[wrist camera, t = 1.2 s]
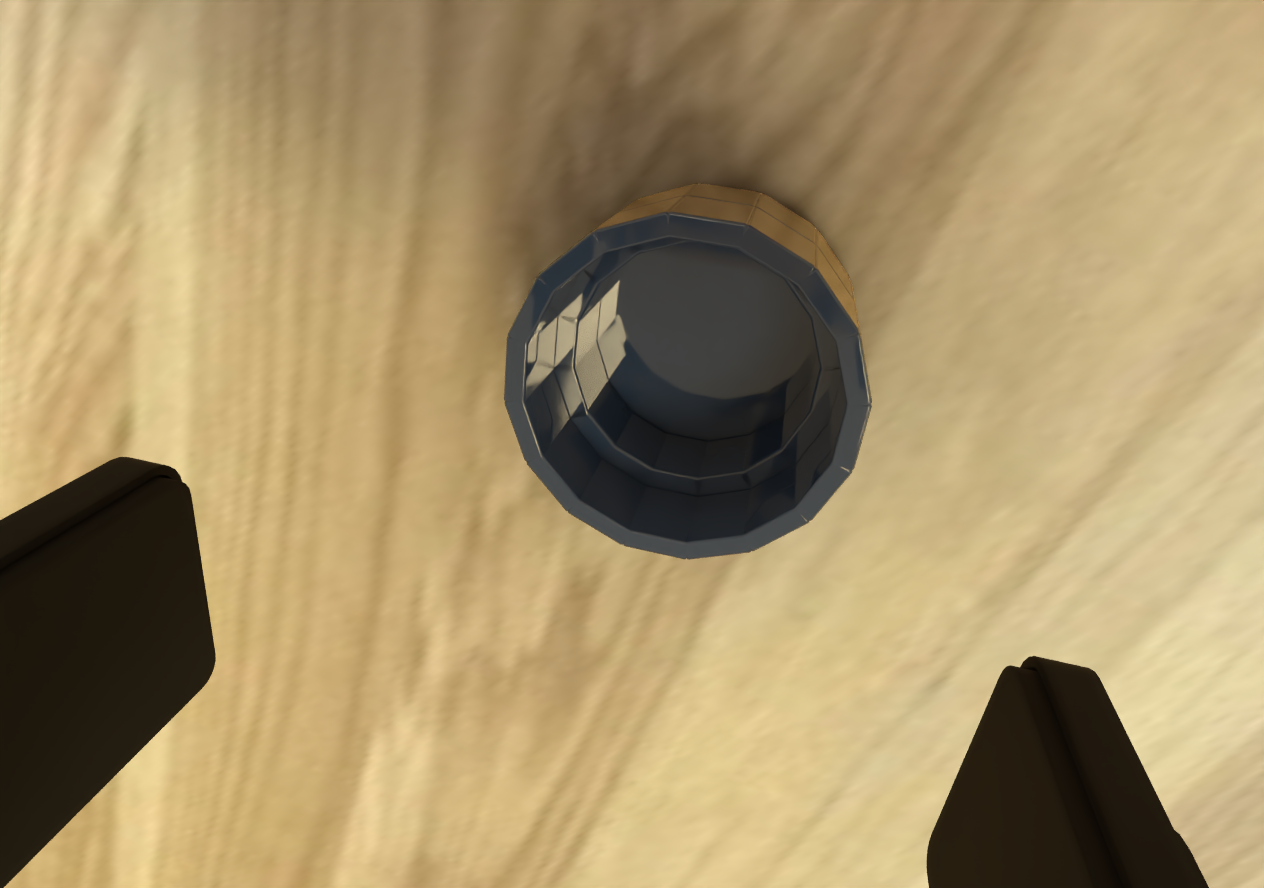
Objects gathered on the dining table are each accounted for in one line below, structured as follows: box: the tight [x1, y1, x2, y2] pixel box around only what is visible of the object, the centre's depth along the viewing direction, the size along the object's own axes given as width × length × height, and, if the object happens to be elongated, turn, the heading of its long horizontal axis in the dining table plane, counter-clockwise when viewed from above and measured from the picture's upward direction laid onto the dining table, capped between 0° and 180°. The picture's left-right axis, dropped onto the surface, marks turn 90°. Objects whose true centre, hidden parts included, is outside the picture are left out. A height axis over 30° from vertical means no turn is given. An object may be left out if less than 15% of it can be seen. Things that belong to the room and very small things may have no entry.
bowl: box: [504, 183, 872, 559], centre depth 17 cm, size 7×7×5 cm
